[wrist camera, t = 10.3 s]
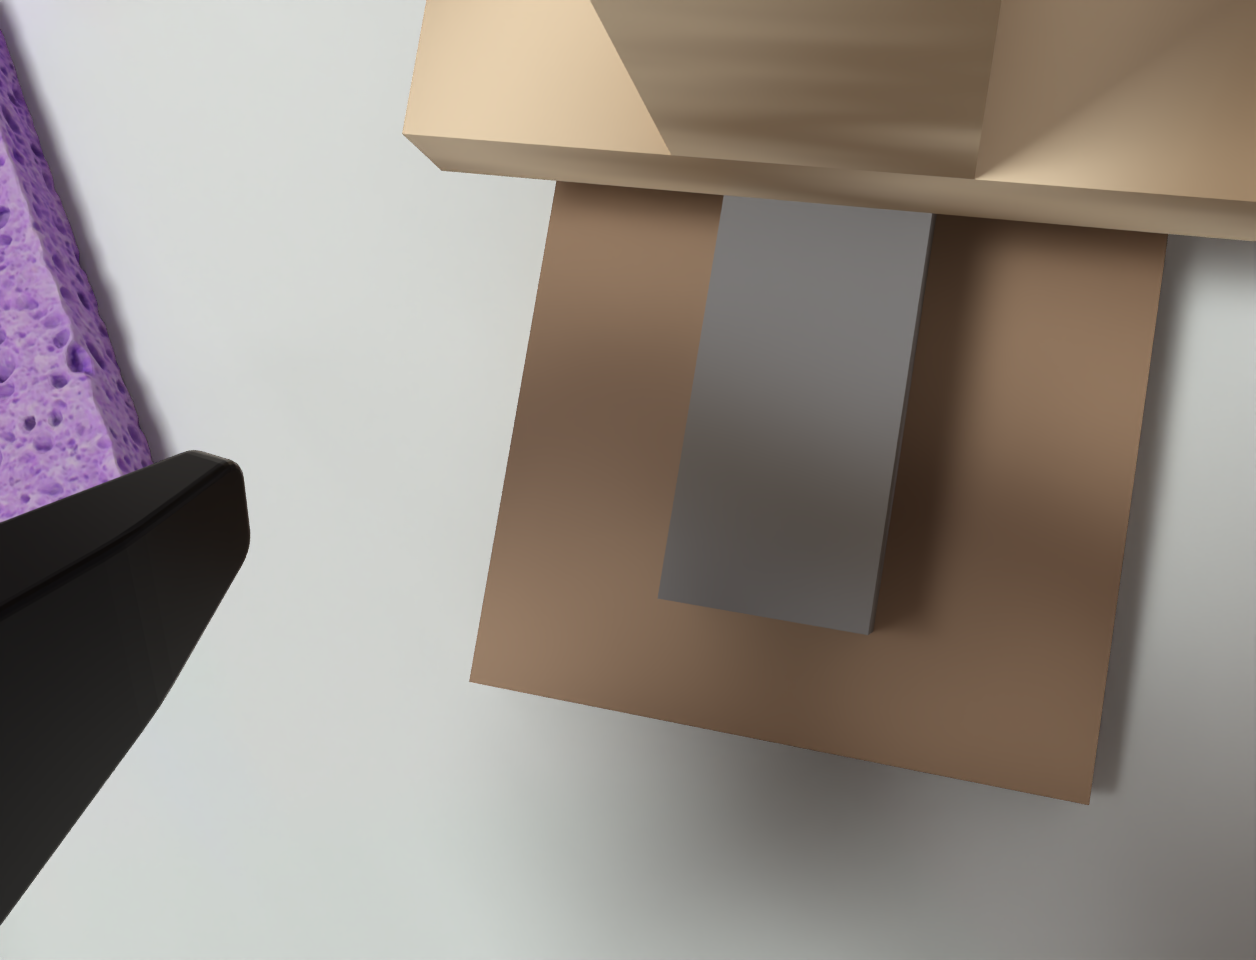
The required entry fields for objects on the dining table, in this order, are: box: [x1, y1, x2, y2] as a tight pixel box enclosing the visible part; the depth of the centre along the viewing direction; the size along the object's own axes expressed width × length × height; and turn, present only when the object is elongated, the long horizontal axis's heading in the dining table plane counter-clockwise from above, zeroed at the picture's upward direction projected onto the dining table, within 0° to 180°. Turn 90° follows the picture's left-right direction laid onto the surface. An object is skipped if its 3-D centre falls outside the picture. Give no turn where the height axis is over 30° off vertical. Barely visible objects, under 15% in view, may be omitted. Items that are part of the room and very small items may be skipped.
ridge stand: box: [469, 181, 1168, 805], centre depth 19 cm, size 20×10×4 cm, turn 170°
